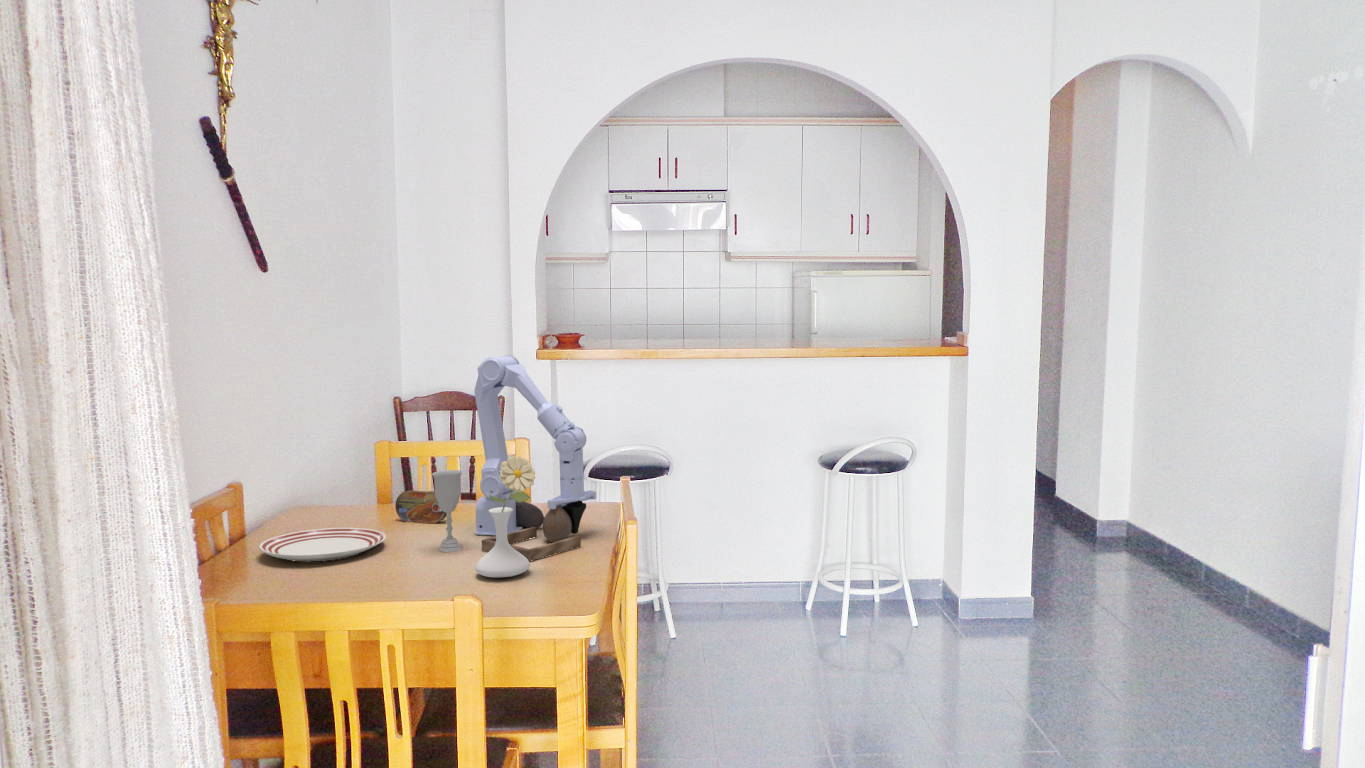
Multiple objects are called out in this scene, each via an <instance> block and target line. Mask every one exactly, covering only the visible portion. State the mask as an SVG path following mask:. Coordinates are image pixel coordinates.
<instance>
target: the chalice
mask: <svg viewBox="0 0 1365 768" xmlns="http://www.w3.org/2000/svg"><path fill="white" fill-rule="evenodd" d="M462 474H463V471H462V470H459V469H457V470H456V469H446V470H438V471H434V472H432V473H431V475H432V477H433V479H434V491H435V496H436V499H437V501H438V503H439V505H440V507H441V509H442V511H443V512H446V513H447V516H446V518H445V519H446V520H445V522H446V528H445V530H446V532H447V536H446V537H445V538H444V539H442V540H441V544H440V547H439V549H438V550H439V551H440V552H443V553H446V552H447V553H449V552H450V553H451V552H456V551H459V550H462V546H460V543H459V540H458V539H457V538H456V537H454V536H453V534H452V532H453V530H454V527H453V525H452V522H453V521H454V520H453V519H452V512H454V511H455V510H456V509H457V505H458V504H459V501H460V497H461V495H462V486H461V485H462V484H461V483H462V481H461V480H462V479H461V476H462Z"/></svg>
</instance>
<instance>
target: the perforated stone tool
mask: <svg viewBox="0 0 1365 768" xmlns="http://www.w3.org/2000/svg"><path fill="white" fill-rule="evenodd" d="M544 517H545V514H544V513H543V511H542V510H541V509H540V508H539V507H538V506H536V505H534V504H532V503H530V502H526V501H524V502H520V503H519V502H516V527H526V528H525V529H527V528H531V527H537V528H540V527H542V526H543V520H544Z"/></svg>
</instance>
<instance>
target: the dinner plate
mask: <svg viewBox="0 0 1365 768" xmlns="http://www.w3.org/2000/svg"><path fill="white" fill-rule="evenodd" d="M386 538H387V535H386V533H384V532H383V531H380V530H376V529H371V528H363V527H362V528H360V527H330V528H329V527H328V528H326V527H325V528H315V529H307V530H301V531H295V532H294V531H293V532H288V533H285V534H280V535H277V536H274V537H271V538H268V539H266V540H264V541H261V542H260V544H259V547H258V548H259V550H260V551H261V552H263V553H264V554H266V555H269V556H271V557H275V558H276V559H277V558H278V559H283V560H285V559H287V560H286V561H288V560H295V561H323V562H325V561H324V560H332V561H334V560H333V559H338V560H340V559H339V558H344V559H346V558H345V557H348V558H350V557H349V556H352V557H354V556H353V555H355V556H357V555H359V553H360V554H362V553H363V552H365V551H368V550H370V549H372V548H374V547H376V546H377V545H379V544H381V543H383V542H384V541H385V540H386ZM361 552H362V553H361ZM356 554H357V555H356Z"/></svg>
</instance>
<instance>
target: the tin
mask: <svg viewBox="0 0 1365 768" xmlns="http://www.w3.org/2000/svg"><path fill="white" fill-rule="evenodd" d="M394 507H395V511H396V514H397V516H398V517H399V518H400V520H402V521H403V522H406V523H412V522H413V523H414V524H415V523H419V524H437V523H439V522H442V521H443V520H444V519H446V518H447V513H446V512H443V511H442V509H441V507H440V505H439V503H438V501H437V499H436V496H435V490H404V491H403V492H401V493H400V494H399V495H398V496H397V498H396V499H395V506H394Z"/></svg>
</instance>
